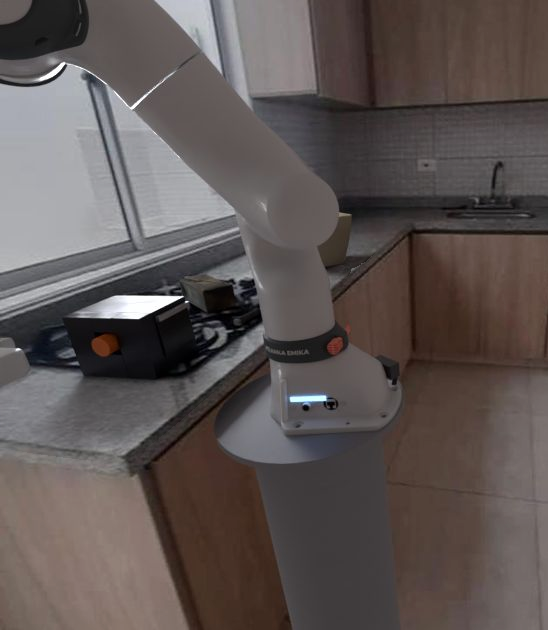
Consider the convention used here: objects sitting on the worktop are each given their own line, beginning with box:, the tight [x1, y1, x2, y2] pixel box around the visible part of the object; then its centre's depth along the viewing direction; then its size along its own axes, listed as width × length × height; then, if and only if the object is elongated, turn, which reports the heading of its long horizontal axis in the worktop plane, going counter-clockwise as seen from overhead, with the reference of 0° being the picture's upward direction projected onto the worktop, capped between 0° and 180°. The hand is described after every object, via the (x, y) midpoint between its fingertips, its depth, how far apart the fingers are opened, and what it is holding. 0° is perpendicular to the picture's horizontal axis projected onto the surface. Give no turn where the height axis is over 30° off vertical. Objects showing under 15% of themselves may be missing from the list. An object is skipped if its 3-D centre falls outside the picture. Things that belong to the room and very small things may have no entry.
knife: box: [232, 307, 262, 327], centre depth 111 cm, size 19×2×5 cm
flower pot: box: [317, 212, 353, 268], centre depth 152 cm, size 19×19×17 cm
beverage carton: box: [178, 273, 237, 314], centre depth 119 cm, size 8×19×7 cm, turn 44°
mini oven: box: [61, 295, 199, 380], centre depth 85 cm, size 17×12×12 cm
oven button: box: [92, 333, 120, 356], centre depth 80 cm, size 4×3×4 cm
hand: (6, 342), depth 63 cm, fingers closed
